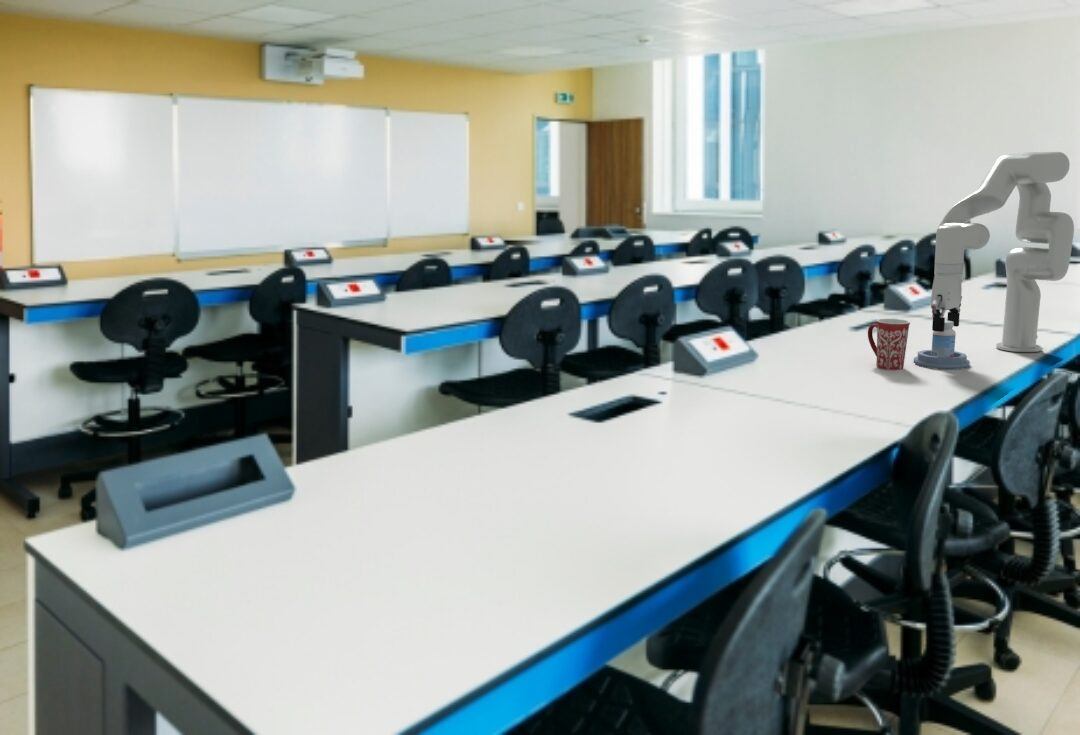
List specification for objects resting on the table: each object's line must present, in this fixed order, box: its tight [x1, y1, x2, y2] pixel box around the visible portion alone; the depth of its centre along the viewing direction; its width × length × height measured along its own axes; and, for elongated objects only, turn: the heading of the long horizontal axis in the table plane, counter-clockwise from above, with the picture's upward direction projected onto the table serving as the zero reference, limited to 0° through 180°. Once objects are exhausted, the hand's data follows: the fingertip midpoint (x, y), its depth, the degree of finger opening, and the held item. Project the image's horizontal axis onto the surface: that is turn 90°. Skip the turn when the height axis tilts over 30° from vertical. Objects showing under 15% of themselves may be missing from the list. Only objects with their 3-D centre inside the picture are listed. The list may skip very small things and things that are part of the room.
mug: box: [867, 318, 911, 371], centre depth 270 cm, size 13×9×14 cm
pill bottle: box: [931, 320, 957, 357], centre depth 272 cm, size 6×6×11 cm
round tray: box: [913, 349, 971, 370], centre depth 273 cm, size 15×15×3 cm
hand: (945, 328), depth 272 cm, fingers open, 9 cm apart
